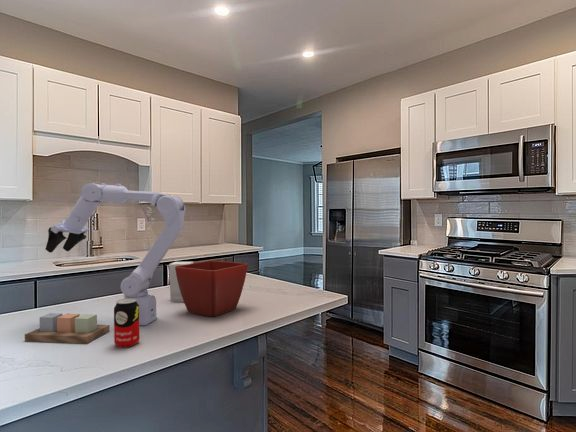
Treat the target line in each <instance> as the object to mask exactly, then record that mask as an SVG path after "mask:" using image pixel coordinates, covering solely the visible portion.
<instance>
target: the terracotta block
mask: <svg viewBox="0 0 576 432" xmlns="http://www.w3.org/2000/svg"><path fill="white" fill-rule="evenodd" d="M79 316H81V314H80V313H64V314H63V316H60V317H58V318H57V332H69V333H71V332H73V331H75V318H77V317H79Z"/></svg>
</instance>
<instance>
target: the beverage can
mask: <svg viewBox="0 0 576 432" xmlns="http://www.w3.org/2000/svg"><path fill="white" fill-rule="evenodd" d="M115 303H116V304H115V305H114V308H113V327H114V328H113V336H114V337H113V338H114V339H113V340H114V341H113V342H114V344H115V345H116V346H117V347H119V348H129V347H132V346H133V347H134V345H136V344H137V343H139V341H140V336H141V335H140V325H139V305H138V303H137V299H133V298H129V299H124V298H123V299H122V298H121V299H118V300H116V302H115Z"/></svg>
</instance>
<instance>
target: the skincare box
mask: <svg viewBox="0 0 576 432" xmlns="http://www.w3.org/2000/svg"><path fill="white" fill-rule="evenodd" d="M193 263H194V261H174V262H171V263H169V264H168V270H169V272H168V273H169V290H170V291H169V293H170V294H169V297H170V302H171V303H184V301H183V298H182V295H181V292H180V288H179V285H178V280H177V276H176V270H175V267H176V266H181V265H187V264H193Z"/></svg>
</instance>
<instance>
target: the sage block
mask: <svg viewBox="0 0 576 432" xmlns="http://www.w3.org/2000/svg"><path fill="white" fill-rule="evenodd" d="M97 325H98V314H91V313H90V314H88V313H85V314H82V315H81V314H80V316H79V317H77V318H75V333H90V332H92V331H94V330H96V329H97Z"/></svg>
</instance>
